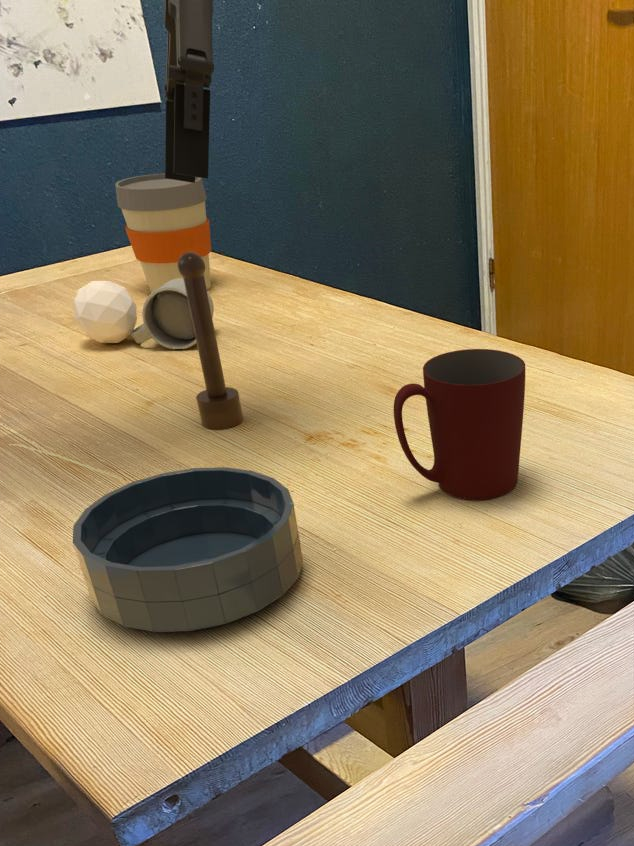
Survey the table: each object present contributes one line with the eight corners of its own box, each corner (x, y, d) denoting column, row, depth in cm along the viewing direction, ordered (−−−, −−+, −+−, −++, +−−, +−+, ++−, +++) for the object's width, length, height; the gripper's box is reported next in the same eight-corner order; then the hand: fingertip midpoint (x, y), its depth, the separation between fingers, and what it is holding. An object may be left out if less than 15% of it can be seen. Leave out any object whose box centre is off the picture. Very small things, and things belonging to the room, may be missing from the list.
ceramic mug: (221, 328, 126) (209, 269, 122) (209, 348, 120) (195, 287, 115) (143, 333, 126) (127, 274, 122) (126, 353, 120) (109, 292, 115)
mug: (421, 521, 81) (412, 400, 75) (385, 481, 88) (373, 366, 81) (542, 490, 85) (544, 373, 79) (498, 454, 92) (496, 342, 85)
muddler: (193, 427, 99) (156, 257, 89) (215, 411, 103) (181, 245, 93) (230, 431, 98) (196, 259, 88) (250, 415, 102) (220, 247, 91)
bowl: (49, 621, 70) (24, 553, 67) (169, 520, 83) (153, 458, 79) (239, 656, 66) (223, 585, 63) (336, 544, 79) (327, 479, 75)
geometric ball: (134, 361, 124) (124, 320, 116) (72, 348, 123) (58, 306, 115) (149, 317, 127) (140, 274, 119) (88, 303, 126) (75, 260, 118)
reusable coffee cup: (228, 275, 148) (209, 171, 139) (215, 298, 138) (194, 187, 129) (148, 279, 148) (124, 174, 139) (129, 302, 138) (102, 191, 129)
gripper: (258, -146, 67) (245, 181, 74) (221, -60, 88) (214, 188, 96) (146, -179, 64) (145, 165, 72) (136, -81, 85) (136, 175, 93)
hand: (185, 179), depth 84 cm, fingers open, 13 cm apart
